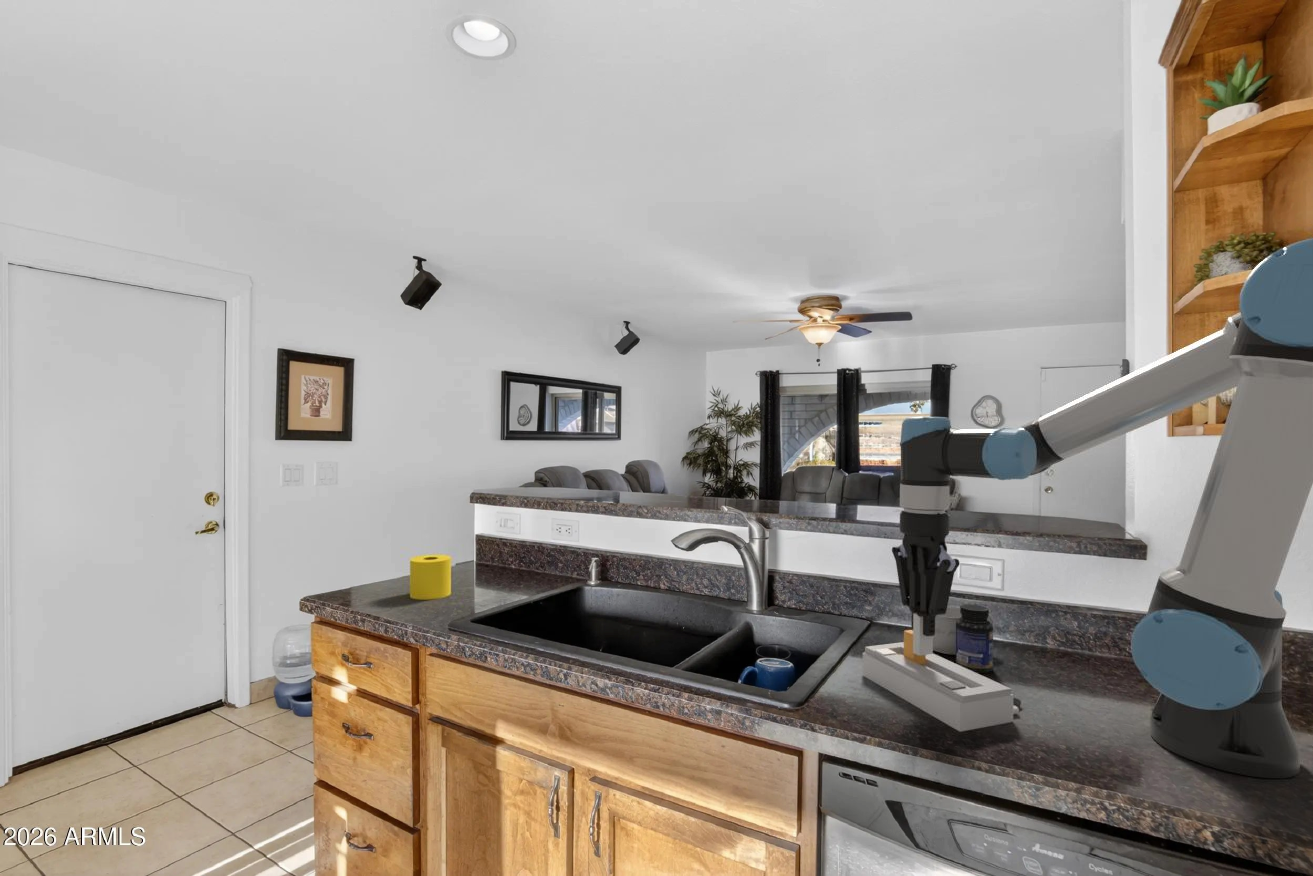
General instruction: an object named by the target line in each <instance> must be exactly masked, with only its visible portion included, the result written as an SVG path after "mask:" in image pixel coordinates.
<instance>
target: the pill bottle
mask: <svg viewBox="0 0 1313 876" xmlns="http://www.w3.org/2000/svg"><path fill="white" fill-rule="evenodd" d="M960 613H961V615H962V617H961V618H959V619H957V621H956V655H955V664H957V665H960V666H962V667H964V668H966V669H969V670H971V671H973V672H975V673H977V674H979V673H980V674H982V673H983V674H986V673H987V674H988V673H990V672H992V671H993V669H994V628H993V625H992V624H991V623H990V622H989V621H988V619H987V617H988V616H989V614H990V610H989V608H988V607H986V606H984V605H978V604H969V603H965V604H961V605H960Z"/></svg>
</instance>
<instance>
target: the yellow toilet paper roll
mask: <svg viewBox="0 0 1313 876" xmlns="http://www.w3.org/2000/svg"><path fill="white" fill-rule="evenodd" d="M451 586H452V557H451V556H450V555H448V554H425V555H418V556H415V557H414V556H413V557H411V558H410V559H409V597H410V598H411V599H414V600H423V601H424V600H436V599H442V598H446V597H448V596H450V595H451V594H452V590H451V589H452V587H451Z"/></svg>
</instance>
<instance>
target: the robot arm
mask: <svg viewBox="0 0 1313 876" xmlns="http://www.w3.org/2000/svg"><path fill="white" fill-rule="evenodd" d="M1238 309H1239V312H1237V313H1236V314H1233V315H1231V316H1229V317H1228V318H1227V320H1226V322H1225V324H1224V327H1223V328H1222V329H1221V330H1218V331H1216V332H1214V333H1211V334H1210V335H1208V336H1205V337H1204V338H1202V339H1200V340H1198V341H1195V342H1193V343H1192V344H1190V345H1187V346H1185V347H1183V348H1181V349H1178V350H1177V351H1175V352H1173V353H1171V354H1168V355H1167V356H1165V357H1162V358H1160V359H1157V361H1154V362H1152V363H1150V364H1148V365H1146V366H1144V367H1142V368H1139V369H1138V370H1135V371H1133V372H1131V373H1129V374H1126V375H1125V376H1123V377H1120V378H1119V379H1117V380H1115V381H1113V382H1111V383H1109V384H1107V385H1104V386H1102V387H1100V388H1098V389H1096V390H1094V391H1093V392H1089V393H1088V394H1085V395H1084V396H1082V397H1080V398H1077V399H1075V400H1074V401H1071V402H1069V403H1067V404H1065V405H1063V406H1061V407H1058V408H1057V409H1054V410H1053V411H1051V412H1049V413H1046V414H1044V415H1043V416H1040V417H1039V418H1037V419H1035V420H1032V421H1030V422H1027V423H1026V424H1024V425H1022V426H1020V427H1017V428H1015V429H1014V428H1011V427H1010V428H1005V427H1002V428H973V429H971V428H969V429H967V428H966V429H965V428H964V429H959V428H952V425H951V420H950V419H949V418H948V417H945V416H916V417H915V416H912V417H907V418H905V419H903V421H902V423H901V431H900V432H901V433H900V442H899V447H900V483H899V507H900V508H902V509H903V510H901V511H900V513H899V531H900V532H901V534H904V535H903V538H902V542H901V544H900V545H898V546H893V547H892V548H891V552H892V554H893V558H894V560H895V565H896V571H897V579H898V585H899V586H898V587H899V590H900V592H899V593H900V598H901V599H900V600H901V603H902V605H903V606H906V607H908V609H909V611H910V612H911V624H910V625H911V630H913V653H915V654H917V655H919V656H921V655H928V654H934V650H933V636H934V635H935V617H936V616H937V615H942V614H945V613H946V610H947V606H949V600H950V596H951V591H952V584H953V580H954V577H955V573H956V571H957V569H958V568H959V566H960V561H959V558H952V557H951V556H950V554H949V553H948V552H947V551H948V547H947V544H946V537H947V536H948V535H949V533H950V514H949V513H948V512H946V511H947V510H949V509H950V484H951V482H950V480H951V477H967V478H981V479H982V478H983V479H997V480H1000V481H1005V480H1006V481H1008V480H1009V481H1010V480H1024V479H1028V478H1029V477H1030V476H1034V475H1037V474H1040V473H1043V472H1045V471H1047V470H1049V469H1050V468H1051V467H1052V466H1053V465H1055V464H1058V463H1060V462H1062V461H1063V460H1066V459H1068V458H1071V457H1073V456H1075V455H1078V454H1080V453H1082V452H1085V451H1087V450H1090V449H1092V448H1095V447H1096V446H1099V445H1102V444H1103V443H1107V442H1109V441H1112V440H1113V439H1116V438H1118V437H1121V436H1123V435H1126V434H1128V433H1131V432H1132V431H1134V430H1137V429H1140V428H1142V427H1144V426H1147V425H1149V424H1151V423H1153V422H1156V421H1159V420H1160V419H1163V418H1165V417H1167V416H1170V415H1172V414H1175V413H1178V412H1179V411H1182V410H1184V409H1187V408H1190V407H1191V406H1194V405H1197V404H1199V403H1201V402H1203V401H1206V400H1208V399H1211V398H1214V397H1216V396H1217V395H1218V396H1219V395H1220V394H1223V393H1225V392H1227V391H1229V390H1231V389H1235V388H1236V390H1235V392H1234V396H1233V399H1232V402H1231V404H1230V408H1229V412H1228V415H1227V417H1226V421H1225V424H1224V427H1223V429H1222V432H1221V435H1220V439H1219V441H1218V445H1217V448H1216V451H1215V455H1214V457H1213V461H1212V463H1211V466H1210V469H1209V473H1208V475H1207V478H1206V482H1205V485H1204V488H1203V491H1202V494H1201V497H1200V500H1199V503H1198V507H1197V510H1196V513H1195V516H1194V519H1193V522H1192V526H1191V528H1190V531H1189V534H1188V537H1187V540H1186V544H1185V547H1184V550H1183V553H1182V556H1181V559H1180V563H1179V565H1178V566H1177V567H1174V568H1172V569H1168V570H1166V571H1163V572H1161V573H1160V574H1159V576H1158V579H1157V582H1156V586H1155V588H1154V591H1153V594H1152V597H1151V600H1150V603H1149V607H1148V609H1147V613H1146V615H1144V617H1143V618H1142V619H1140V620H1139V621H1138V623H1137V624H1136V625H1135V627H1134V629H1133V631H1132V635H1131V640H1130V651H1131V656H1132V659H1133V661H1134V663H1135V666H1136V668H1137V669H1138V671H1139V672H1140V674H1141V675H1142V676H1143V678H1144V679H1145V680H1146V681H1147V683H1149V684H1150V685H1151V686H1152V687H1153V688H1154V689H1155V690H1157V691H1158V692H1159V693H1160V694H1159V696H1158V699H1157V700H1156V703H1155V704H1154V707H1153V709H1152V711H1151V713H1150V715H1149V717H1150V718H1149V734H1150V736H1151V738H1152V739H1154V741H1156V743H1158V744H1159V745H1160V746H1162V747H1164V749H1165V748H1166V749H1167V750H1169V751H1171V752H1172V753H1174V754H1176V755H1178V756H1181V757H1183V758H1185V759H1188V760H1191V761H1192V762H1195V763H1198V764H1201V765H1202V766H1203V765H1204V766H1206V767H1210V768H1212V769H1213V768H1214V769H1216V770H1221V771H1224V772H1227V773H1228V772H1229V773H1233V774H1238V775H1243V776H1249V777H1255V778H1262V779H1286V778H1287V779H1288V778H1291V777H1294V776H1296V775H1298V774H1299V773H1300V771H1301V752H1300V749H1299V746H1298V744H1297V742H1296V738H1295V736H1294V734H1293V732H1292V729H1291V726H1290V723H1289V721H1288V719H1287V716H1286V713H1285V711H1284V708H1283V705H1282V688H1283V687H1282V686H1283V683H1282V682H1283V681H1282V679H1283V674H1282V673H1283V671H1282V669H1283V667H1282V666H1283V665H1282V664H1283V662H1282V661H1283V624H1284V621H1285V618H1286V616H1287V611H1286V610H1285V608H1284V607H1283V605H1284V604H1283V597H1282V594H1281V593H1280V591H1278V590H1277V589H1276V588H1277V585H1278V583H1279V579H1280V576H1281V574H1282V571H1283V568H1284V566H1285V562H1286V560H1287V557H1288V555H1289V552H1290V549H1291V545H1292V543H1293V540H1294V537H1295V535H1296V533H1297V532H1296V531H1297V528H1298V527H1299V523H1300V520H1301V518H1302V515H1303V511H1304V509H1305V506H1306V504H1307V501H1308V498H1309V495H1310V493H1311V489H1312V486H1313V237H1312V238H1307V239H1303V240H1300V241H1297V242H1293V243H1291V244H1289V245H1286V246H1284V247H1282V248H1280V249H1277V250H1276V251H1275V252H1273V253H1271V254H1270V255H1268V256H1267V257H1265V258H1264V259H1263V260H1262V261H1261V262H1259V263H1258V264H1257V265H1256V266H1255V267H1254V268H1253V270H1252V271H1251V272H1250V273H1249V275H1248V276H1247V277H1246V279H1245V281H1244V282H1243V286H1242V288H1241V290H1240V294H1239V304H1238Z"/></svg>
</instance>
